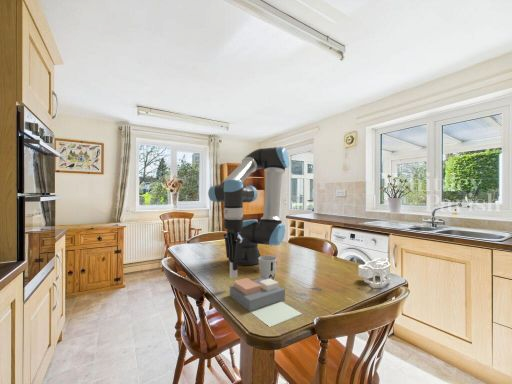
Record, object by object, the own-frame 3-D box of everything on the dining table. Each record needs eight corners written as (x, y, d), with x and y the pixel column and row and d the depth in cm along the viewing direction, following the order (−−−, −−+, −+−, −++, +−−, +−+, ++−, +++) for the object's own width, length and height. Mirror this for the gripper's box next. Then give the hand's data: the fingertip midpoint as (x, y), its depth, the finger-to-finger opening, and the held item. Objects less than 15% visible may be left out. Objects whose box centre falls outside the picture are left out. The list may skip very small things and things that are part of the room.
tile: (233, 286, 88) (233, 281, 88) (247, 283, 91) (247, 277, 91) (246, 295, 81) (246, 289, 81) (260, 291, 84) (260, 285, 84)
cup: (271, 285, 99) (271, 261, 99) (255, 281, 103) (254, 258, 103) (279, 279, 106) (279, 257, 106) (264, 275, 110) (264, 254, 110)
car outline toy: (375, 270, 117) (375, 256, 117) (400, 277, 108) (400, 261, 108) (354, 280, 105) (353, 263, 105) (379, 288, 96) (379, 270, 96)
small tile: (259, 286, 88) (259, 281, 88) (270, 283, 91) (270, 278, 91) (267, 291, 84) (267, 285, 84) (278, 287, 87) (278, 282, 87)
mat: (250, 313, 76) (250, 312, 76) (281, 302, 84) (281, 301, 84) (269, 328, 68) (269, 326, 68) (301, 314, 75) (301, 313, 75)
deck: (230, 296, 88) (229, 286, 88) (262, 287, 97) (262, 277, 97) (250, 312, 77) (250, 300, 77) (284, 300, 85) (284, 289, 85)
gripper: (217, 217, 97) (218, 274, 97) (232, 220, 86) (233, 284, 86) (234, 216, 101) (234, 271, 101) (250, 219, 90) (250, 280, 90)
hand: (233, 277), depth 94 cm, fingers closed
